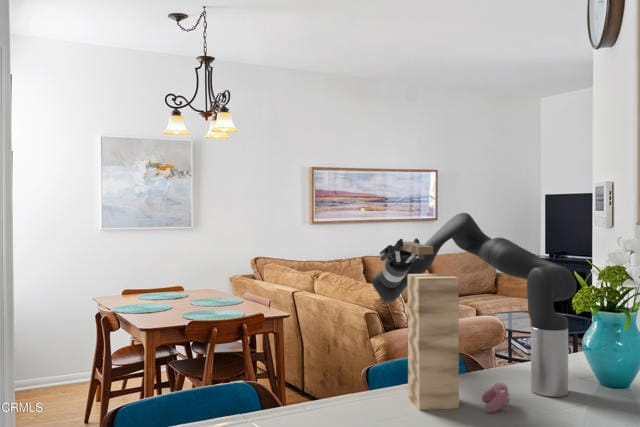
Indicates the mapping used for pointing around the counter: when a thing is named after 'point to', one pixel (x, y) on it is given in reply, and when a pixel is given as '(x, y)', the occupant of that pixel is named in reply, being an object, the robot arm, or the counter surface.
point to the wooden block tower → (433, 341)
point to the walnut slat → (417, 248)
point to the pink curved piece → (496, 397)
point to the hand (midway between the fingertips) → (409, 241)
